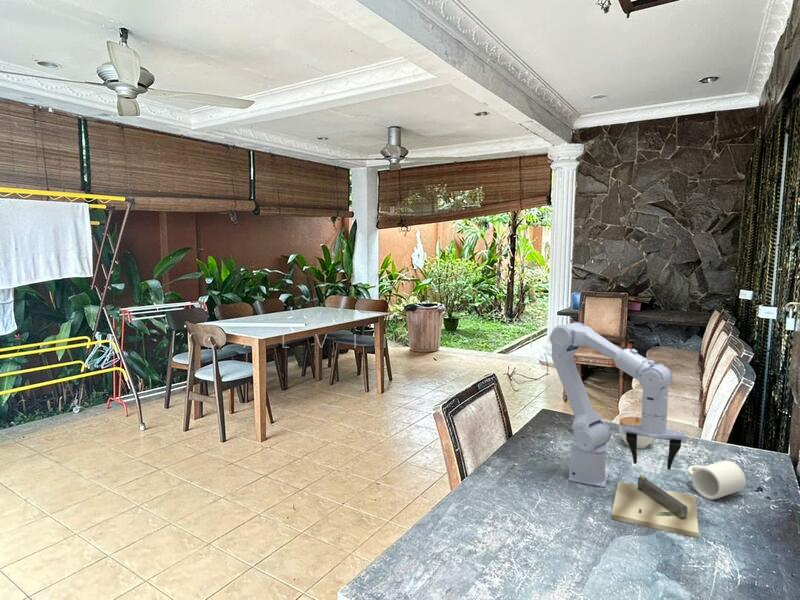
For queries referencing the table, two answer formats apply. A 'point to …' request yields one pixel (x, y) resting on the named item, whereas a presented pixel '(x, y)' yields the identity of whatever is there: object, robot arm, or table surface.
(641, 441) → the lidded jar
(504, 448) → the table surface
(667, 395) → the robot arm
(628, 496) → the board
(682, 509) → the pointer
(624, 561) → the table surface
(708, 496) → the mug
